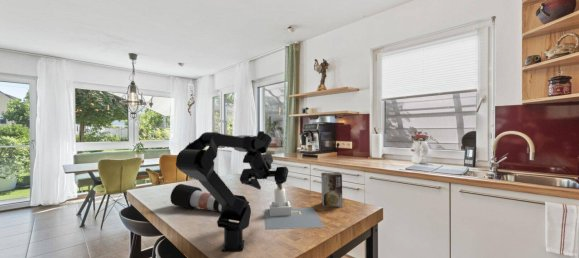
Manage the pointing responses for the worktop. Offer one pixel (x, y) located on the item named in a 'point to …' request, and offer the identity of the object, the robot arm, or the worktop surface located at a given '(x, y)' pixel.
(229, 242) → the robot arm
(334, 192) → the coffee box
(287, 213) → the board
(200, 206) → the telephoto camera lens
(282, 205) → the white cylindrical bottle
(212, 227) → the worktop surface
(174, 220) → the worktop surface
